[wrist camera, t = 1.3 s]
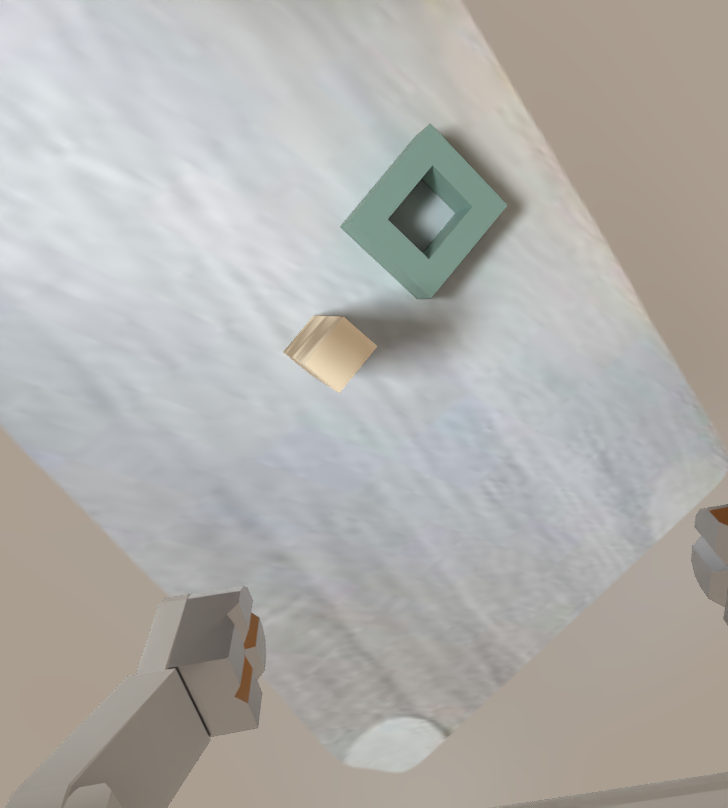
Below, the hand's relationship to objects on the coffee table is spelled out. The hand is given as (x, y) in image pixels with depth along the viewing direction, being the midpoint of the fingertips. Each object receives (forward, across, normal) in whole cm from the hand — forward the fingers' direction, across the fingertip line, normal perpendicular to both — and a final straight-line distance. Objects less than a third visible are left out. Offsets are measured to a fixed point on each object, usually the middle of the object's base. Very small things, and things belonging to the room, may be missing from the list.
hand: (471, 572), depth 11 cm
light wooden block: (+39, +6, +11) cm, 41 cm away
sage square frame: (+44, -4, +4) cm, 45 cm away
